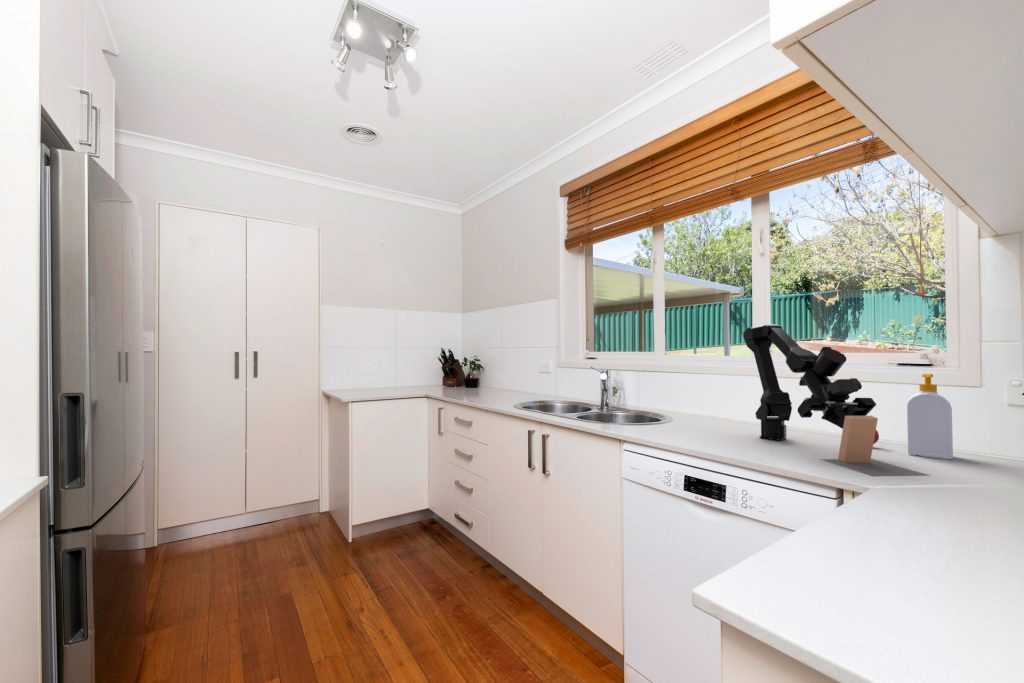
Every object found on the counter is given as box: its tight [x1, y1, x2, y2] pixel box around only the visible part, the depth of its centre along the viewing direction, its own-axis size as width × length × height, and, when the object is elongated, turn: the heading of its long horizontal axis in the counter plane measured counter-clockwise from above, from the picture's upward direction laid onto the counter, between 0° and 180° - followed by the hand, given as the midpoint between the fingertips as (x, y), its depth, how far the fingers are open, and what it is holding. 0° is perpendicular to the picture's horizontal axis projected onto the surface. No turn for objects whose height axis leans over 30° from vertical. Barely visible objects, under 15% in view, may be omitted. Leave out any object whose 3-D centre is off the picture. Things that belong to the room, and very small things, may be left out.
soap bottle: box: [906, 373, 954, 460], centre depth 123 cm, size 9×7×23 cm
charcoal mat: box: [820, 458, 931, 477], centre depth 109 cm, size 16×14×1 cm
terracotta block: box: [837, 415, 878, 463], centre depth 113 cm, size 2×7×12 cm, turn 93°
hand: (854, 433), depth 114 cm, fingers closed
